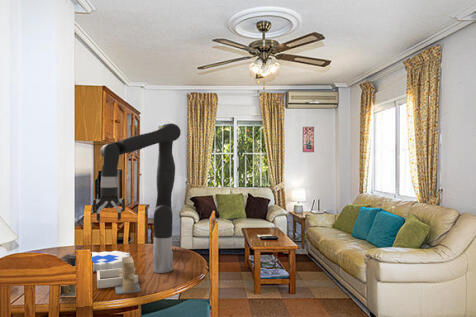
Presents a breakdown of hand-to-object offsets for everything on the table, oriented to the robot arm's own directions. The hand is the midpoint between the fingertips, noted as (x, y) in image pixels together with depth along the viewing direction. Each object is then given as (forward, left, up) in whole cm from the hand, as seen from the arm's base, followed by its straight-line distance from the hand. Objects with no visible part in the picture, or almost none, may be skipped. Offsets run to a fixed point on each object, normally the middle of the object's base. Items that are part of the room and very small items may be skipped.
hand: (108, 221), depth 161 cm
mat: (-7, +15, -28) cm, 32 cm away
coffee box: (+14, +14, -28) cm, 34 cm away
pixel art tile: (+1, -29, -28) cm, 41 cm away
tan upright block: (-7, +15, -27) cm, 32 cm away
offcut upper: (-8, +2, -26) cm, 27 cm away
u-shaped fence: (-3, +2, -28) cm, 28 cm away
